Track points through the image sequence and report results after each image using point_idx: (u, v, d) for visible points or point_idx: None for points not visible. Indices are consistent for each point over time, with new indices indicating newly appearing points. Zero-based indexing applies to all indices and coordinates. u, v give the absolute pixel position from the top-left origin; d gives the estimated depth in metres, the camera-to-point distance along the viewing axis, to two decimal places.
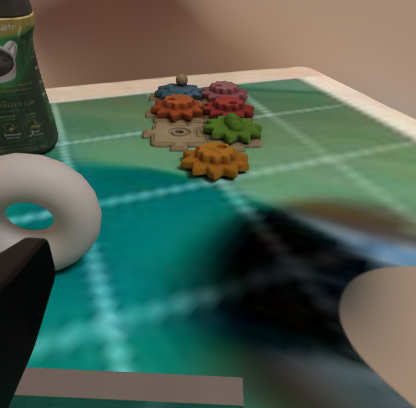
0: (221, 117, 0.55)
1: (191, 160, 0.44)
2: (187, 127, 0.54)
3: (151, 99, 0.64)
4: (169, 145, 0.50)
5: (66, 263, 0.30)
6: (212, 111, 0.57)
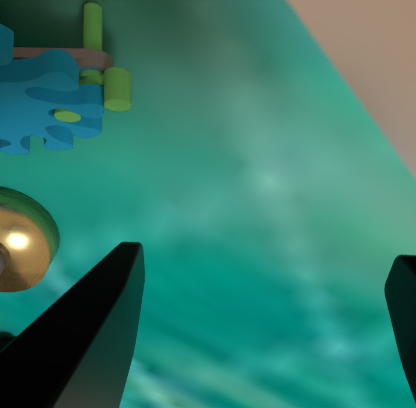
0: None
1: None
2: None
3: None
4: None
5: None
6: None
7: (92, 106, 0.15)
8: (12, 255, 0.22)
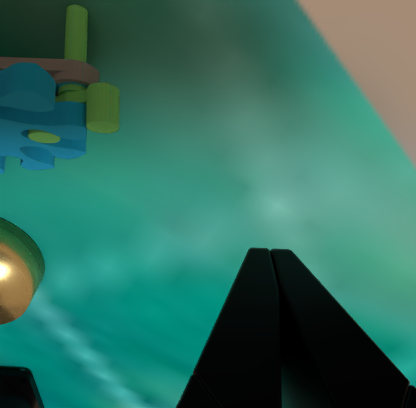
0: None
1: None
2: None
3: None
4: None
5: None
6: None
7: (73, 127, 0.13)
8: None
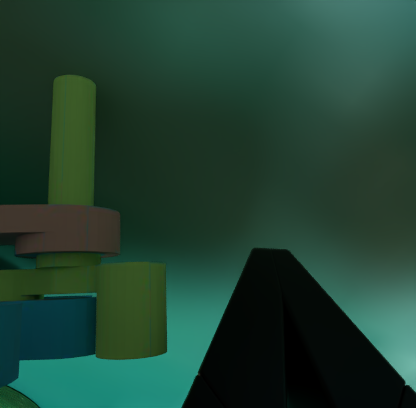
0: None
1: None
2: None
3: None
4: None
5: None
6: None
7: (67, 356, 0.06)
8: None
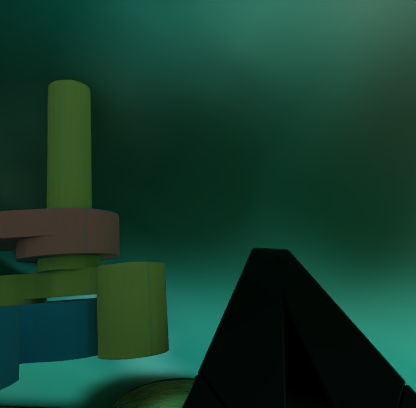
0: None
1: None
2: None
3: None
4: None
5: None
6: None
7: (69, 357, 0.06)
8: None
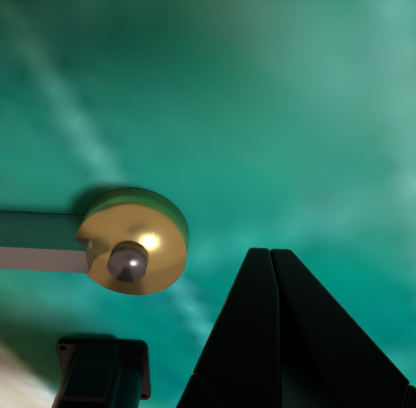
0: None
1: None
2: None
3: None
4: None
5: None
6: None
7: None
8: (151, 257, 0.21)
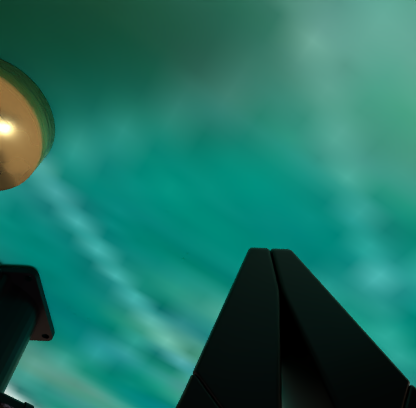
0: None
1: None
2: None
3: None
4: None
5: None
6: None
7: None
8: None
